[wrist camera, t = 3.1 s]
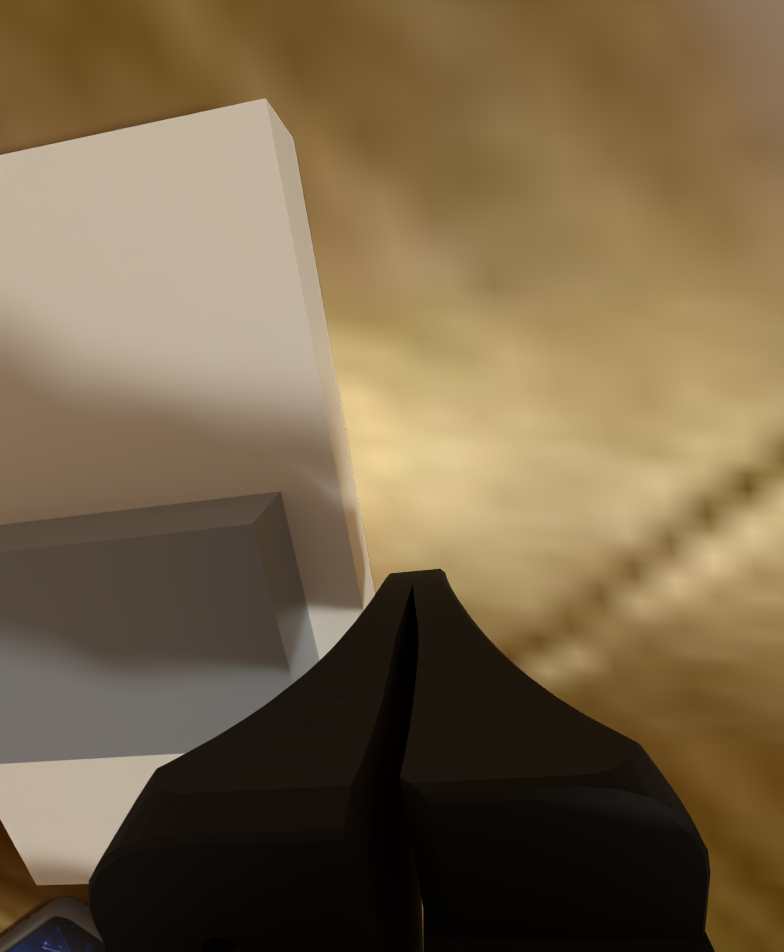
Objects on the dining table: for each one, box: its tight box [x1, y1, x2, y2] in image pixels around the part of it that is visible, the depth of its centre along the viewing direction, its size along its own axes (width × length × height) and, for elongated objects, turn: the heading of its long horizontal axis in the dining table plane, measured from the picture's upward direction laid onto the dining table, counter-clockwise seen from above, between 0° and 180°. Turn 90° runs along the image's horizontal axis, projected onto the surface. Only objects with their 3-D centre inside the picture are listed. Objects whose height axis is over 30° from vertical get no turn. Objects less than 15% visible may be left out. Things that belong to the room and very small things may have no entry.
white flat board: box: [0, 98, 375, 885], centre depth 14 cm, size 22×14×2 cm, turn 8°
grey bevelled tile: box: [0, 492, 319, 764], centre depth 12 cm, size 6×9×2 cm, turn 98°
